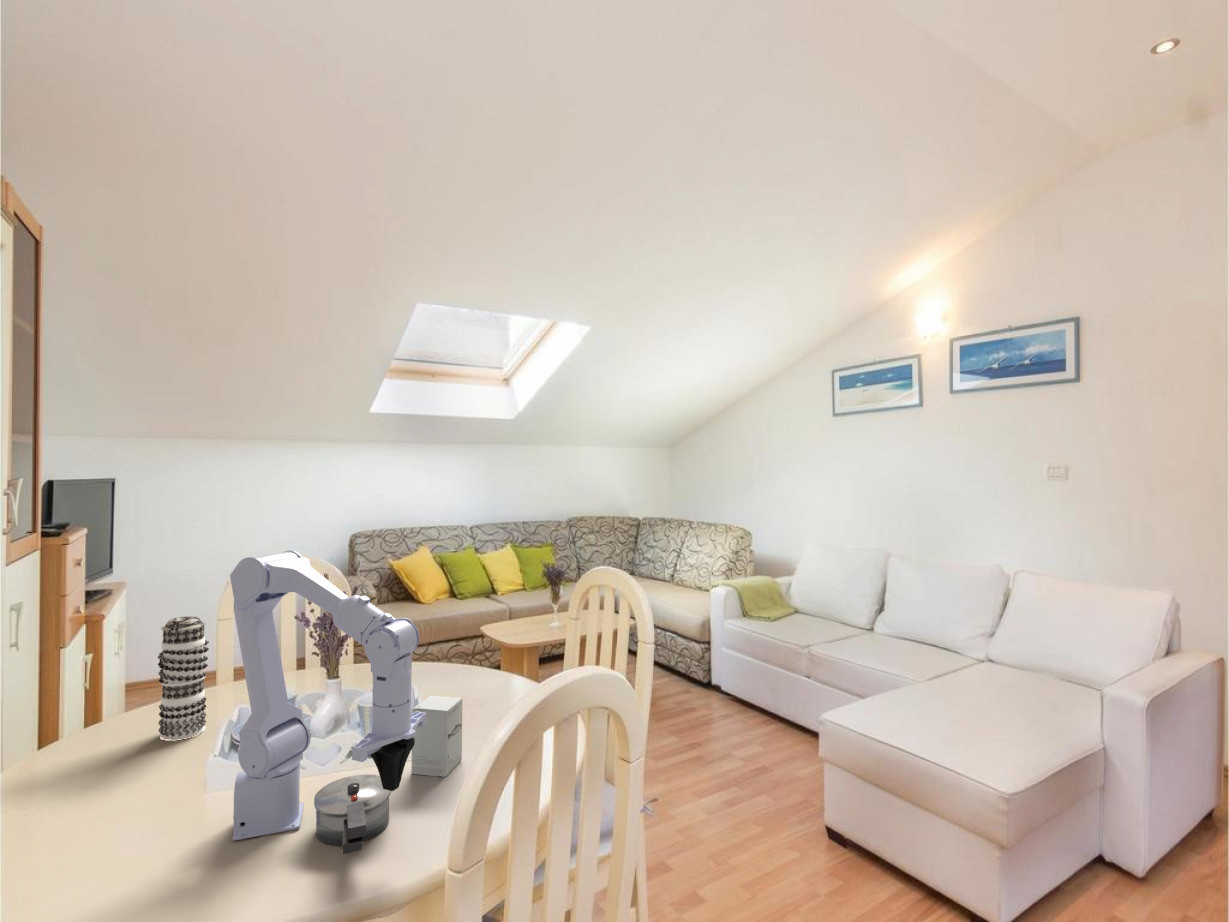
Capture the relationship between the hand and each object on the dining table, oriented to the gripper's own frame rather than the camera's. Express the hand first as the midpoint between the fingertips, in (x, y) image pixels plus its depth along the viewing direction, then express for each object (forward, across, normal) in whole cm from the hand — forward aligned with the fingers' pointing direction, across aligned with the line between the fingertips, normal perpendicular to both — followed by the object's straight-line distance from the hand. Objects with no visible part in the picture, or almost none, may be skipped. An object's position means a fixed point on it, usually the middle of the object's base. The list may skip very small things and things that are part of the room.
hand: (390, 788), depth 99 cm
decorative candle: (+9, +16, +70) cm, 72 cm away
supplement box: (+9, +24, +9) cm, 27 cm away
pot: (+9, -1, +7) cm, 11 cm away
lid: (+4, -1, +7) cm, 8 cm away
